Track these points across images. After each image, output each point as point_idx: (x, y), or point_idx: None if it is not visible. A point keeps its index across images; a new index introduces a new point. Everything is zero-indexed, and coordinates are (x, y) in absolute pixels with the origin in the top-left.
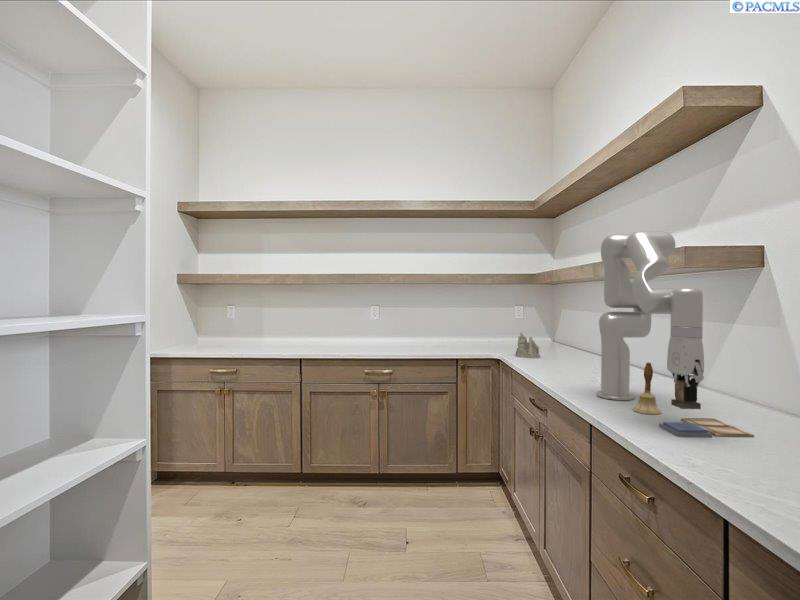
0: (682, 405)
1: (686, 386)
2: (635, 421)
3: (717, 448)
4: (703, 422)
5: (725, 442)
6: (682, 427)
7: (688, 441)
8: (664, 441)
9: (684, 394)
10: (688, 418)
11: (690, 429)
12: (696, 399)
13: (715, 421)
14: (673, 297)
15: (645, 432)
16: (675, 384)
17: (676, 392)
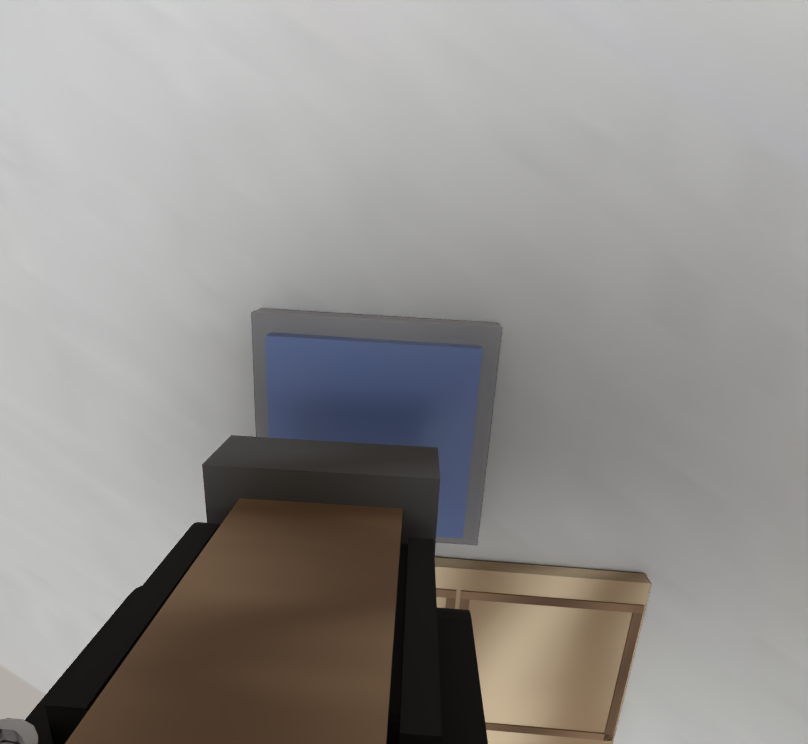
0: (215, 456)
1: (23, 728)
2: (673, 217)
3: (49, 402)
4: (533, 648)
5: (173, 520)
6: (331, 402)
7: (165, 315)
8: (142, 136)
9: (166, 579)
10: (631, 622)
11: (283, 426)
12: None
13: (546, 722)
14: None
15: (360, 116)
16: (418, 715)
17: (377, 580)
